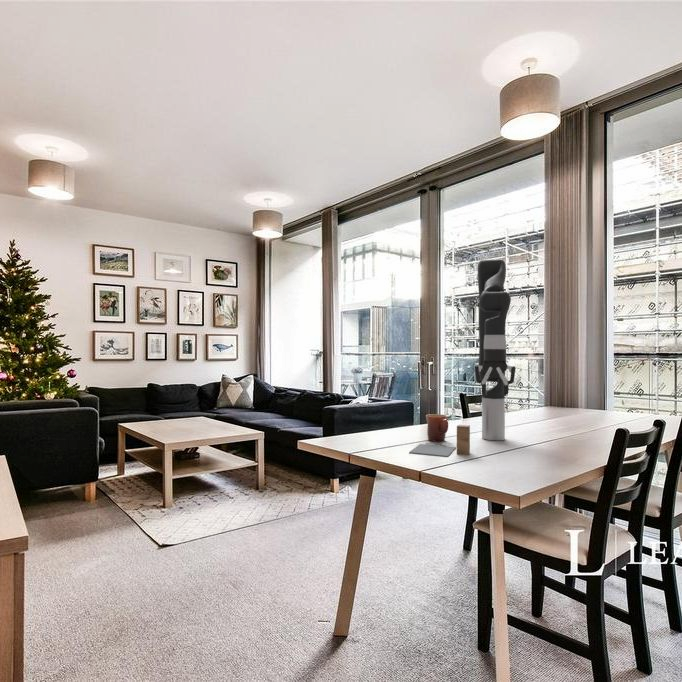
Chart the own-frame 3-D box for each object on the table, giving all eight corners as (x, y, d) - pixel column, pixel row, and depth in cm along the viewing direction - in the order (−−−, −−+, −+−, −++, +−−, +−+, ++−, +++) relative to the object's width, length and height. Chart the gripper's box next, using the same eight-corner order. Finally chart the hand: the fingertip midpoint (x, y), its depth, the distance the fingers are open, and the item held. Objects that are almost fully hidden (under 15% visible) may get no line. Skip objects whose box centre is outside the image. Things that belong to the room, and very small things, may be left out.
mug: (421, 439, 195) (421, 414, 195) (439, 437, 199) (439, 413, 199) (437, 444, 184) (437, 418, 184) (456, 443, 187) (456, 417, 188)
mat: (419, 444, 183) (419, 443, 183) (456, 448, 178) (456, 447, 178) (409, 453, 169) (409, 452, 169) (447, 456, 163) (447, 455, 163)
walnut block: (458, 451, 171) (458, 424, 172) (469, 452, 170) (469, 425, 170) (456, 454, 168) (456, 426, 168) (468, 455, 166) (468, 426, 166)
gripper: (517, 348, 165) (517, 395, 165) (475, 348, 171) (475, 393, 171) (515, 348, 159) (515, 397, 158) (472, 347, 164) (472, 395, 164)
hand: (494, 395), depth 165 cm, fingers open, 6 cm apart
